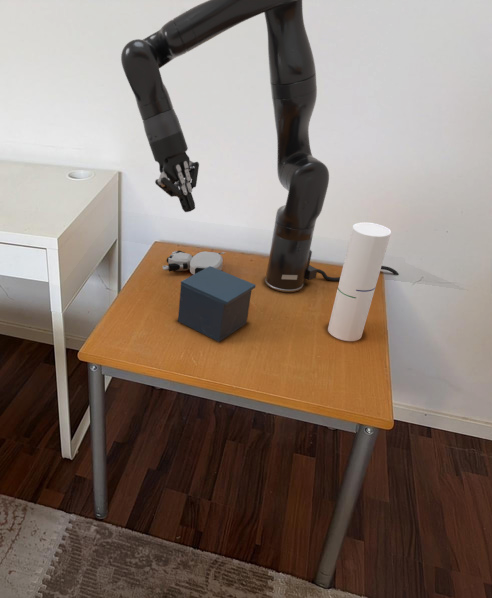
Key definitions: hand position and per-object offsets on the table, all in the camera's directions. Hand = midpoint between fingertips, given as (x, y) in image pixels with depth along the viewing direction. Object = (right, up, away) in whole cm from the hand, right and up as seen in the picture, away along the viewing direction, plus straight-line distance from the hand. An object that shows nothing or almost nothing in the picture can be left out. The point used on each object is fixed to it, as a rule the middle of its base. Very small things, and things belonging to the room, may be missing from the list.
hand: (190, 210), depth 128 cm
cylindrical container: (+35, -27, 0) cm, 44 cm away
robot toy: (+5, -12, +26) cm, 29 cm away
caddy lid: (+6, -17, -1) cm, 18 cm away
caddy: (+6, -25, +4) cm, 26 cm away
